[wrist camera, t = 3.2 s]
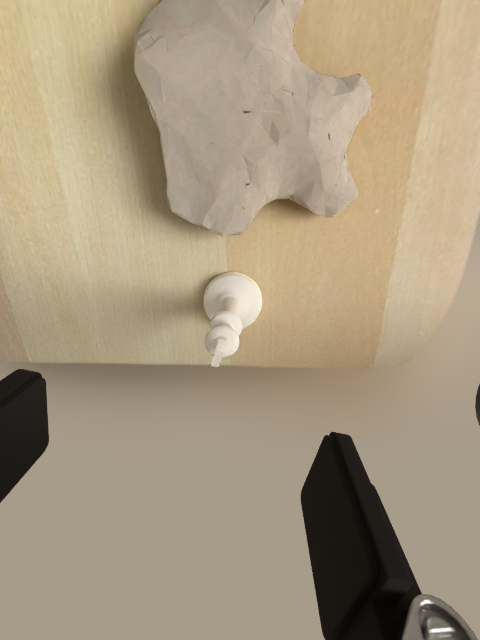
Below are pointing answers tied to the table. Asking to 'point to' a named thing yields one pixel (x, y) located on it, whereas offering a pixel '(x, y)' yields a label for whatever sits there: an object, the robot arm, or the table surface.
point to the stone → (244, 112)
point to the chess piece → (229, 312)
